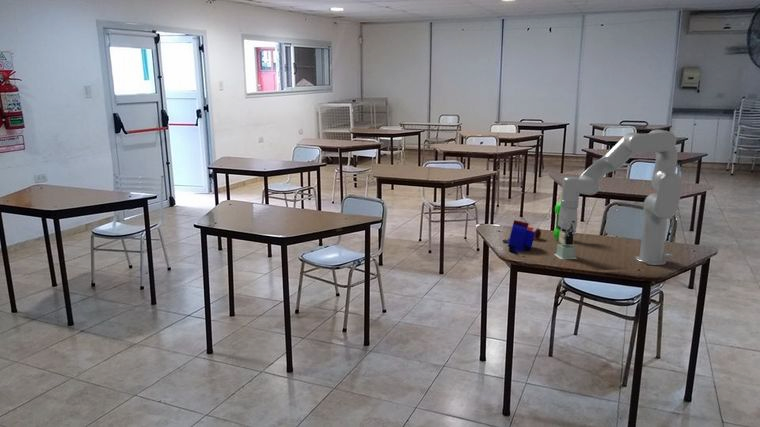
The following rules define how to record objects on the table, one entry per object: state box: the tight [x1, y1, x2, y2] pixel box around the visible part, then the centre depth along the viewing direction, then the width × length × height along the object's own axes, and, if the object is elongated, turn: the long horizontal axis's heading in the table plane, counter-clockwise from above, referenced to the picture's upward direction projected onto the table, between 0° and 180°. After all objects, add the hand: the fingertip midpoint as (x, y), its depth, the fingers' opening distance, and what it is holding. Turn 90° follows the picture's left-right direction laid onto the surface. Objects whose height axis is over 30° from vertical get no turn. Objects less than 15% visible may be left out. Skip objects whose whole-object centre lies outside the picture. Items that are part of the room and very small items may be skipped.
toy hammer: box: [502, 226, 542, 244], centre depth 296 cm, size 23×12×6 cm, turn 127°
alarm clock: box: [507, 219, 535, 254], centre depth 275 cm, size 12×12×15 cm
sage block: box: [555, 243, 576, 258], centre depth 262 cm, size 6×6×5 cm
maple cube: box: [558, 231, 576, 245], centre depth 261 cm, size 5×5×5 cm
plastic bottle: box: [553, 200, 571, 242], centre depth 293 cm, size 10×10×25 cm
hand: (566, 242), depth 261 cm, fingers closed on maple cube, 4 cm apart
